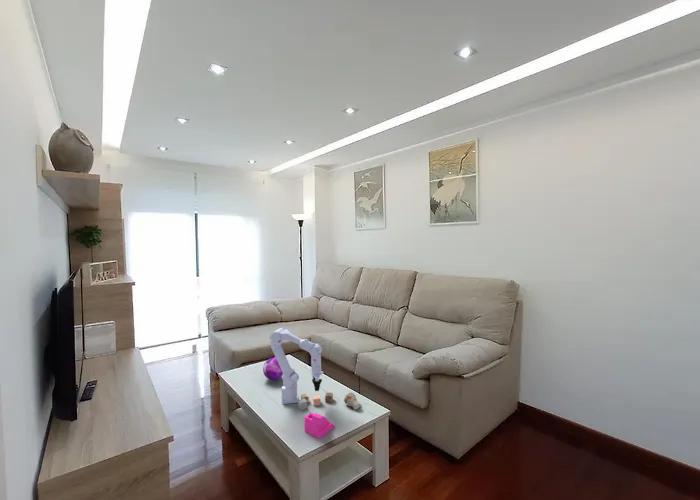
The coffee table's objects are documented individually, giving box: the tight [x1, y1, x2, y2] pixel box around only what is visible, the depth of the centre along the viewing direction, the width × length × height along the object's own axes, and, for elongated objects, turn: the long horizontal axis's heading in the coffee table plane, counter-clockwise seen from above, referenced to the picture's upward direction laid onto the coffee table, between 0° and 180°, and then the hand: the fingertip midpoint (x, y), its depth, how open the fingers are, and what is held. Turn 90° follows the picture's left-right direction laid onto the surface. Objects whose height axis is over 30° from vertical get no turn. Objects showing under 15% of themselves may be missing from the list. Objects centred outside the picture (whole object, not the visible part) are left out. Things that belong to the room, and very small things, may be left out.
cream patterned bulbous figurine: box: [343, 392, 363, 411], centre depth 188 cm, size 8×10×10 cm
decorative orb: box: [262, 356, 283, 381], centre depth 224 cm, size 15×15×15 cm
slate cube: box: [297, 398, 308, 411], centre depth 187 cm, size 4×4×4 cm
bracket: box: [303, 412, 336, 439], centre depth 167 cm, size 12×10×10 cm
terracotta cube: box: [312, 394, 322, 407], centre depth 191 cm, size 4×4×4 cm
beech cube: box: [300, 392, 310, 404], centre depth 194 cm, size 4×4×4 cm
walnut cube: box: [324, 392, 334, 403], centre depth 195 cm, size 4×4×4 cm
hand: (316, 387), depth 191 cm, fingers open, 7 cm apart
